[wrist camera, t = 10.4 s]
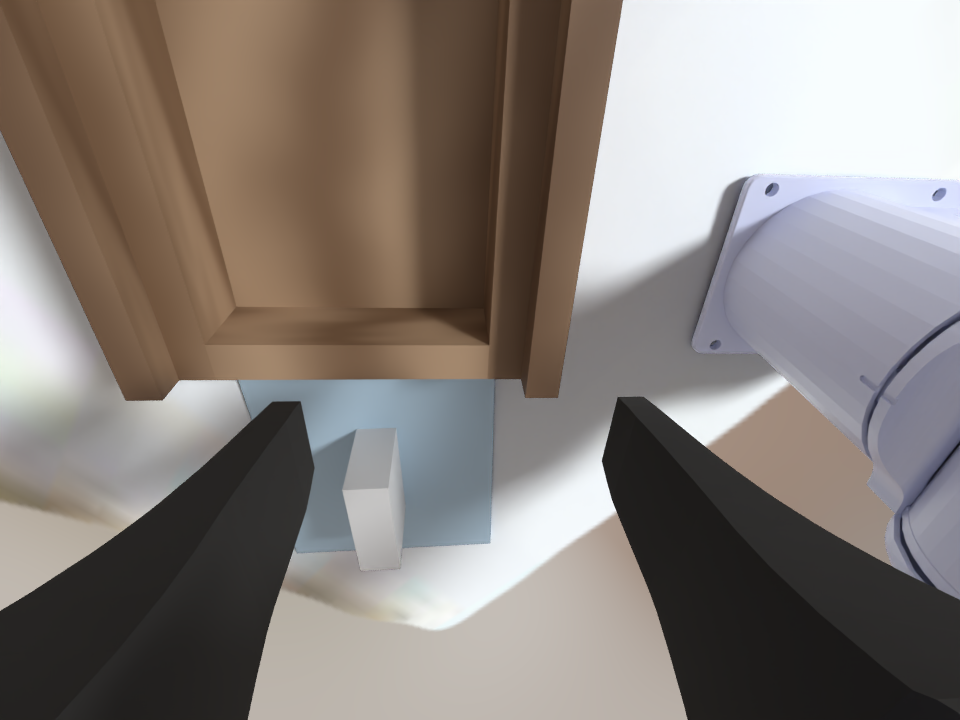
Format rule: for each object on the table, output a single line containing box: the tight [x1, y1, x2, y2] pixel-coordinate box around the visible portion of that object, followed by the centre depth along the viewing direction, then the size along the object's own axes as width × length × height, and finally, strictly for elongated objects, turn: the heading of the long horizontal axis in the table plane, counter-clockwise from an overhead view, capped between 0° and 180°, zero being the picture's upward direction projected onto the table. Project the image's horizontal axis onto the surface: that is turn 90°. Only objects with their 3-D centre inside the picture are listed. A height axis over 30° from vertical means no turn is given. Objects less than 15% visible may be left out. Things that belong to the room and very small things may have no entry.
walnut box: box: [0, 0, 623, 401], centre depth 14 cm, size 15×16×5 cm
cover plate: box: [238, 379, 495, 571], centre depth 24 cm, size 12×14×5 cm
